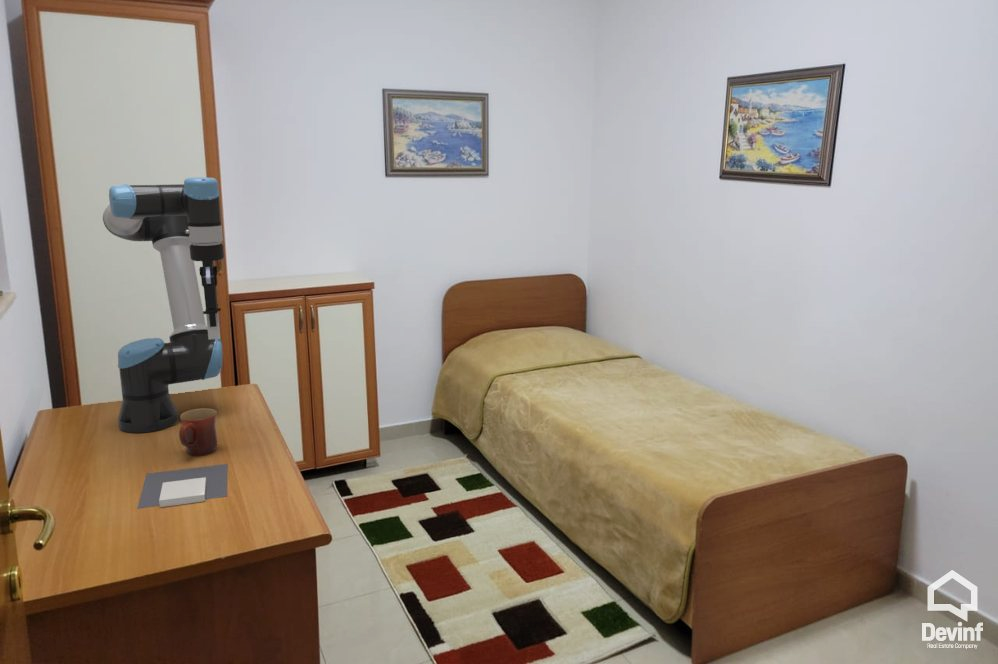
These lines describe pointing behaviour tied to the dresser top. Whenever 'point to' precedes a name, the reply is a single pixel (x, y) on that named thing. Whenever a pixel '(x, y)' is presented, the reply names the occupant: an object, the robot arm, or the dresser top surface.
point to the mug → (199, 431)
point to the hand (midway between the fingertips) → (214, 338)
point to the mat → (213, 474)
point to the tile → (183, 492)
